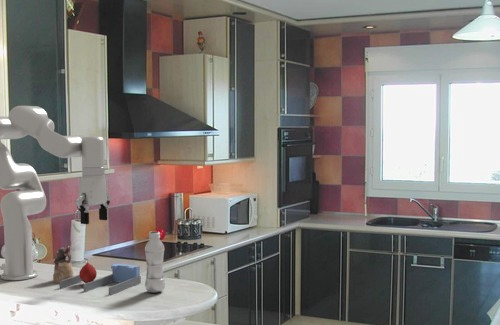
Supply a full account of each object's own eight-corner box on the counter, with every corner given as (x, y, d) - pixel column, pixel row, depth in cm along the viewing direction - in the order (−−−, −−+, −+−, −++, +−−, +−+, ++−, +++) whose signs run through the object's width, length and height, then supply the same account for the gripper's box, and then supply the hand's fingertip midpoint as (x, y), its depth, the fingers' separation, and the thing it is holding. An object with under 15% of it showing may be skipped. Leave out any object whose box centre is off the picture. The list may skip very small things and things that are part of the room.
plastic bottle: (141, 293, 200) (140, 233, 199) (152, 288, 206) (151, 230, 205) (158, 295, 198) (157, 234, 197) (168, 290, 204) (167, 231, 203)
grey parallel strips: (59, 288, 207) (59, 281, 207) (92, 277, 223) (91, 270, 223) (110, 295, 199) (110, 287, 198) (140, 282, 214) (140, 275, 214)
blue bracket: (109, 282, 215) (109, 265, 215) (115, 280, 218) (115, 263, 218) (134, 285, 211) (133, 268, 211) (139, 282, 214) (139, 266, 214)
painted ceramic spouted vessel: (60, 277, 223) (59, 245, 222) (77, 278, 221) (76, 246, 220) (49, 282, 216) (48, 248, 215) (66, 283, 214) (65, 249, 213)
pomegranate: (76, 284, 212) (76, 261, 212) (91, 281, 216) (90, 259, 216) (84, 287, 208) (84, 264, 208) (99, 284, 212) (99, 261, 212)
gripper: (100, 170, 218) (101, 217, 219) (67, 173, 202) (68, 224, 203) (117, 171, 215) (118, 219, 216) (85, 174, 199) (86, 226, 200)
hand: (94, 221), depth 209 cm, fingers open, 9 cm apart
